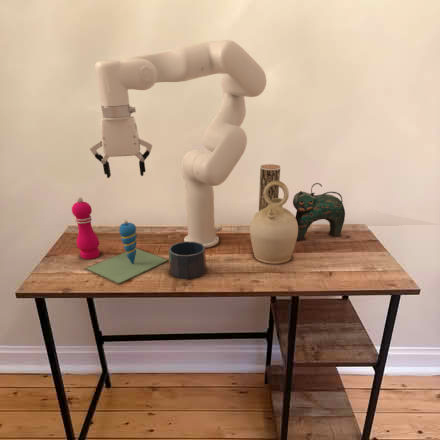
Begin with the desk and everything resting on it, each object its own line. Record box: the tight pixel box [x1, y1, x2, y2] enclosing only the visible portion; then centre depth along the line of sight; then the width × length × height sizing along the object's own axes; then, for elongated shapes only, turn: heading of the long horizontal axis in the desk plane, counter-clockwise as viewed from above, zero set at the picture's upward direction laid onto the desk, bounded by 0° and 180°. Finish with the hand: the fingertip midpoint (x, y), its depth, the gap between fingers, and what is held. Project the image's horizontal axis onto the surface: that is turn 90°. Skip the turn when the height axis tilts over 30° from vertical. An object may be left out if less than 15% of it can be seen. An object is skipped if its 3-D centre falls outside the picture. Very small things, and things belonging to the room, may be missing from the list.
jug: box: [249, 180, 298, 265], centre depth 128 cm, size 15×16×25 cm
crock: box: [168, 241, 207, 280], centre depth 124 cm, size 11×11×8 cm
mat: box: [86, 248, 169, 285], centre depth 130 cm, size 20×16×1 cm
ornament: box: [118, 220, 137, 264], centre depth 126 cm, size 5×5×15 cm
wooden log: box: [258, 163, 281, 212], centre depth 145 cm, size 7×7×25 cm
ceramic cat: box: [292, 182, 346, 242], centre depth 144 cm, size 20×6×20 cm, turn 104°
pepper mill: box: [71, 196, 100, 260], centre depth 132 cm, size 7×7×20 cm
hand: (125, 175), depth 119 cm, fingers open, 9 cm apart
